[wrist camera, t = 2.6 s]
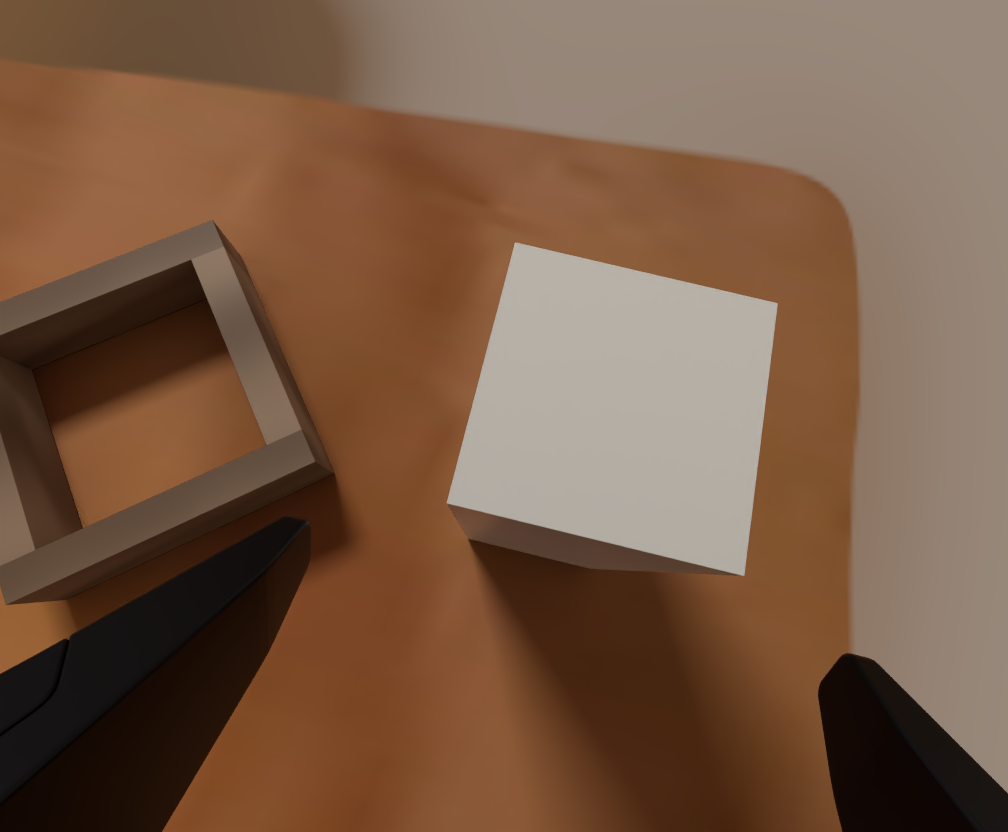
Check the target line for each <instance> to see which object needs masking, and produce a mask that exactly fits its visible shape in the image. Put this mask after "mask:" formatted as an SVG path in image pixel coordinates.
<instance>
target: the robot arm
mask: <svg viewBox="0 0 1008 832" xmlns="http://www.w3.org/2000/svg"><path fill="white" fill-rule="evenodd" d="M310 555H311V524H310V522H309V521H308V520H307V519H303V518H299V517H295V516H291V515H285V516H282V517H280V518H279V519H277V520H275V521H273V522H272V523H270V524H268V525H266V526H264V527H263V528H261V529H259V530H257V531H255V532H254V533H252V534H250V535H248V536H247V537H245V538H243V539H241V540H239V541H238V542H236V543H234V544H232V545H231V546H229V547H227V548H225V549H223V550H222V551H220V552H218V553H216V554H215V555H213V556H211V557H209V558H207V559H206V560H204V561H202V562H200V563H199V564H197V565H195V566H193V567H191V568H190V569H188V570H186V571H184V572H183V573H181V574H179V575H177V576H175V577H174V578H172V579H170V580H168V581H167V582H165V583H163V584H161V585H159V586H158V587H156V588H154V589H152V590H151V591H149V592H147V593H145V594H143V595H142V596H140V597H138V598H136V599H134V600H133V601H131V602H129V603H127V604H126V605H124V606H122V607H120V608H118V609H117V610H115V611H113V612H111V613H110V614H108V615H106V616H104V617H102V618H101V619H99V620H97V621H95V622H94V623H92V624H90V625H88V626H86V627H85V628H83V629H81V630H79V631H78V632H76V633H74V634H72V635H71V636H70V638H69V640H68V639H63V640H61V641H59V642H58V643H56V644H54V645H52V646H50V647H49V648H47V649H45V650H43V651H42V652H40V653H38V654H36V655H34V656H33V657H31V658H29V659H27V660H25V661H23V662H21V663H20V664H18V665H16V666H14V667H12V668H10V669H8V670H7V671H5V672H3V673H1V674H0V832H162V831H163V829H164V827H165V826H166V824H167V822H168V821H169V819H170V817H171V816H172V814H173V812H174V811H175V809H176V807H177V806H178V804H179V802H180V801H181V799H182V797H183V796H184V794H185V792H186V791H187V789H188V787H189V785H190V784H191V782H192V780H193V779H194V777H195V775H196V774H197V772H198V770H199V769H200V767H201V765H202V764H203V762H204V760H205V759H206V757H207V755H208V754H209V752H210V750H211V749H212V747H213V745H214V744H215V742H216V740H217V739H218V737H219V735H220V734H221V732H222V730H223V728H224V727H225V725H226V723H227V722H228V720H229V718H230V717H231V715H232V713H233V712H234V710H235V708H236V707H237V705H238V703H239V702H240V700H241V698H242V697H243V695H244V693H245V692H246V690H247V688H248V687H249V685H250V683H251V682H252V680H253V678H254V677H255V675H256V673H257V671H258V670H259V668H260V666H261V665H262V663H263V661H264V659H265V658H266V656H267V654H268V652H269V650H270V648H271V646H272V644H273V642H274V640H275V638H276V636H277V633H278V631H279V629H280V627H281V625H282V622H283V620H284V618H285V616H286V614H287V612H288V609H289V607H290V605H291V603H292V601H293V598H294V596H295V594H296V592H297V590H298V587H299V585H300V583H301V581H302V579H303V577H304V574H305V572H306V570H307V567H308V565H309V561H310ZM818 699H819V705H820V712H821V719H822V725H823V732H824V738H825V745H826V752H827V758H828V765H829V771H830V778H831V784H832V789H833V794H834V799H835V803H836V808H837V812H838V816H839V820H840V824H841V828H842V832H1008V793H1007V792H1006V791H1005V790H1004V789H1003V788H1002V787H1001V786H1000V785H999V784H998V783H997V782H996V781H995V780H994V779H992V777H991V776H990V775H989V774H988V773H987V772H986V771H985V770H984V769H983V768H982V767H981V766H980V765H979V764H978V763H977V762H976V761H975V760H974V759H973V758H972V757H971V756H970V755H969V754H968V753H967V752H966V751H965V750H964V749H963V748H962V747H960V745H959V744H958V743H957V742H956V741H955V740H954V739H953V738H952V737H951V736H950V735H949V734H948V733H947V732H946V731H945V730H944V729H943V728H942V727H941V726H940V725H939V724H938V723H937V722H936V721H935V720H934V719H933V718H932V717H931V716H930V715H929V714H928V713H926V711H925V710H924V709H923V708H922V707H921V706H920V705H919V704H918V703H917V702H916V701H915V700H914V699H913V698H912V697H911V696H910V695H909V694H908V693H907V692H906V691H905V690H904V689H903V688H902V687H901V686H900V685H899V684H897V682H896V681H895V680H894V679H893V678H892V677H890V675H889V674H888V673H887V672H885V670H884V669H882V667H881V666H880V665H879V664H877V663H876V662H875V661H874V660H872V659H870V658H866V657H862V656H859V655H855V654H850V653H846V654H844V655H842V656H841V657H840V658H839V659H838V660H837V662H836V663H835V664H834V665H833V667H832V668H831V669H830V671H829V672H828V673H827V674H826V676H825V677H824V678H823V680H822V681H821V683H820V686H819V690H818Z"/></svg>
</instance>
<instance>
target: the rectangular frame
mask: <svg viewBox="0 0 1008 832" xmlns="http://www.w3.org/2000/svg"><path fill="white" fill-rule="evenodd" d="M204 299H208V302H209V304H210V307H211V309H212V312H213V314H214V317H215V319H216V321H217V324H218V326H219V329H220V331H221V334H222V336H223V339H224V341H225V344H226V346H227V348H228V351H229V353H230V356H231V358H232V361H233V363H234V366H235V368H236V370H237V373H238V375H239V378H240V380H241V383H242V385H243V388H244V390H245V393H246V395H247V397H248V400H249V402H250V405H251V407H252V410H253V412H254V415H255V417H256V420H257V422H258V424H259V427H260V429H261V432H262V434H263V437H264V439H265V442H266V444H267V445H266V446H264V447H262V448H259V449H257V450H255V451H253V452H251V453H248V454H246V455H244V456H242V457H239V458H237V459H235V460H233V461H231V462H228V463H226V464H224V465H222V466H220V467H217V468H215V469H213V470H211V471H209V472H206V473H204V474H202V475H200V476H198V477H195V478H193V479H191V480H189V481H187V482H184V483H182V484H180V485H178V486H175V487H173V488H171V489H169V490H167V491H164V492H162V493H160V494H158V495H156V496H153V497H151V498H149V499H147V500H145V501H142V502H140V503H138V504H136V505H134V506H131V507H129V508H127V509H125V510H122V511H120V512H118V513H116V514H114V515H111V516H109V517H107V518H105V519H103V520H100V521H98V522H96V523H94V524H92V525H89V526H87V527H85V528H83V529H82V526H81V523H80V520H79V517H78V514H77V510H76V507H75V504H74V501H73V498H72V495H71V492H70V488H69V485H68V482H67V479H66V476H65V473H64V470H63V466H62V463H61V460H60V457H59V454H58V451H57V448H56V445H55V441H54V438H53V435H52V432H51V429H50V426H49V423H48V419H47V416H46V413H45V410H44V407H43V404H42V401H41V398H40V394H39V391H38V388H37V385H36V382H35V379H34V376H33V372H32V370H33V369H35V368H37V367H40V366H42V365H45V364H47V363H50V362H52V361H55V360H57V359H60V358H62V357H64V356H67V355H69V354H72V353H74V352H77V351H79V350H82V349H84V348H87V347H89V346H91V345H94V344H96V343H99V342H101V341H104V340H106V339H109V338H111V337H114V336H116V335H118V334H121V333H123V332H126V331H128V330H131V329H133V328H136V327H138V326H141V325H143V324H145V323H148V322H150V321H153V320H155V319H158V318H160V317H163V316H165V315H168V314H170V313H172V312H175V311H177V310H180V309H182V308H185V307H187V306H190V305H192V304H195V303H197V302H199V301H202V300H204ZM332 474H334V471H333V468H332V466H331V464H330V462H329V459H328V457H327V455H326V452H325V450H324V448H323V445H322V443H321V441H320V438H319V436H318V434H317V431H316V429H315V427H314V424H313V422H312V420H311V417H310V415H309V413H308V411H307V408H306V406H305V404H304V401H303V399H302V397H301V394H300V392H299V390H298V387H297V385H296V383H295V380H294V378H293V376H292V373H291V371H290V369H289V366H288V364H287V362H286V360H285V357H284V355H283V353H282V350H281V348H280V346H279V343H278V341H277V339H276V336H275V334H274V332H273V329H272V327H271V325H270V322H269V320H268V318H267V315H266V313H265V311H264V309H263V306H262V304H261V302H260V299H259V297H258V295H257V292H256V290H255V288H254V285H253V283H252V281H251V278H250V276H249V274H248V271H247V269H246V267H245V264H244V262H243V260H242V258H241V256H240V254H239V253H238V252H237V251H236V249H235V248H234V247H233V245H232V244H231V243H230V242H229V240H228V239H227V238H226V237H225V235H224V234H223V233H222V231H221V230H220V229H219V228H218V226H217V225H216V224H215V223H214V221H213V220H211V221H209V222H206V223H203V224H201V225H198V226H196V227H193V228H190V229H188V230H185V231H183V232H180V233H178V234H175V235H172V236H170V237H167V238H165V239H162V240H159V241H157V242H154V243H152V244H149V245H147V246H144V247H141V248H139V249H136V250H134V251H131V252H129V253H126V254H123V255H121V256H118V257H116V258H113V259H110V260H108V261H105V262H103V263H100V264H98V265H95V266H92V267H90V268H87V269H85V270H82V271H79V272H77V273H74V274H72V275H69V276H67V277H64V278H61V279H59V280H56V281H54V282H51V283H48V284H46V285H43V286H41V287H38V288H36V289H33V290H30V291H28V292H25V293H23V294H20V295H18V296H15V297H12V298H10V299H7V300H5V301H2V302H0V586H1V590H2V593H3V597H4V600H5V604H6V605H10V604H22V603H33V602H45V601H57V600H66V599H68V598H70V597H72V596H74V595H76V594H78V593H81V592H83V591H85V590H87V589H89V588H91V587H93V586H95V585H98V584H100V583H102V582H104V581H106V580H108V579H110V578H113V577H115V576H117V575H119V574H121V573H123V572H125V571H127V570H130V569H132V568H134V567H136V566H138V565H140V564H142V563H144V562H147V561H149V560H151V559H153V558H155V557H157V556H159V555H162V554H164V553H166V552H168V551H170V550H172V549H174V548H176V547H179V546H181V545H183V544H185V543H187V542H189V541H191V540H194V539H196V538H198V537H200V536H202V535H204V534H206V533H208V532H211V531H213V530H215V529H217V528H219V527H221V526H223V525H226V524H228V523H230V522H232V521H234V520H236V519H238V518H240V517H243V516H245V515H247V514H249V513H251V512H253V511H255V510H257V509H260V508H262V507H264V506H266V505H268V504H270V503H272V502H275V501H277V500H279V499H281V498H283V497H285V496H287V495H289V494H292V493H294V492H296V491H298V490H300V489H302V488H304V487H307V486H309V485H311V484H313V483H315V482H317V481H319V480H321V479H324V478H326V477H328V476H330V475H332Z"/></svg>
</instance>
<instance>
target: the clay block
mask: <svg viewBox="0 0 1008 832" xmlns="http://www.w3.org/2000/svg"><path fill="white" fill-rule="evenodd" d="M777 304H778V303H774V302H769V301H765V300H761V299H756V298H752V297H748V296H744V295H739V294H735V293H731V292H726V291H722V290H718V289H713V288H709V287H705V286H700V285H696V284H692V283H688V282H683V281H679V280H675V279H670V278H666V277H662V276H657V275H653V274H649V273H644V272H640V271H636V270H632V269H627V268H623V267H619V266H614V265H610V264H606V263H601V262H597V261H593V260H588V259H584V258H580V257H576V256H571V255H567V254H563V253H558V252H554V251H550V250H545V249H541V248H537V247H532V246H528V245H524V244H520V243H515V246H514V250H513V253H512V257H511V261H510V265H509V269H508V272H507V276H506V280H505V284H504V288H503V291H502V295H501V299H500V303H499V307H498V310H497V314H496V318H495V322H494V326H493V329H492V333H491V337H490V341H489V345H488V348H487V352H486V356H485V360H484V363H483V367H482V371H481V375H480V379H479V382H478V386H477V390H476V394H475V398H474V401H473V405H472V409H471V413H470V417H469V420H468V424H467V428H466V432H465V436H464V439H463V443H462V447H461V451H460V455H459V458H458V462H457V466H456V470H455V474H454V477H453V481H452V485H451V489H450V493H449V496H448V500H447V505H448V506H449V508H450V510H451V511H452V513H453V515H454V516H455V518H456V520H457V521H458V523H459V525H460V526H461V528H462V530H463V531H464V533H465V535H466V536H467V538H468V539H471V540H475V541H479V542H483V543H487V544H491V545H495V546H499V547H503V548H507V549H511V550H515V551H520V552H524V553H528V554H532V555H536V556H540V557H544V558H548V559H552V560H556V561H560V562H564V563H568V564H572V565H576V566H581V567H585V568H589V569H607V570H628V571H649V572H670V573H692V574H713V575H734V576H744V573H745V565H746V556H747V548H748V540H749V532H750V524H751V516H752V508H753V499H754V491H755V483H756V475H757V467H758V459H759V451H760V443H761V434H762V426H763V418H764V410H765V402H766V394H767V386H768V378H769V369H770V361H771V353H772V345H773V337H774V329H775V321H776V312H777Z"/></svg>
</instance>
